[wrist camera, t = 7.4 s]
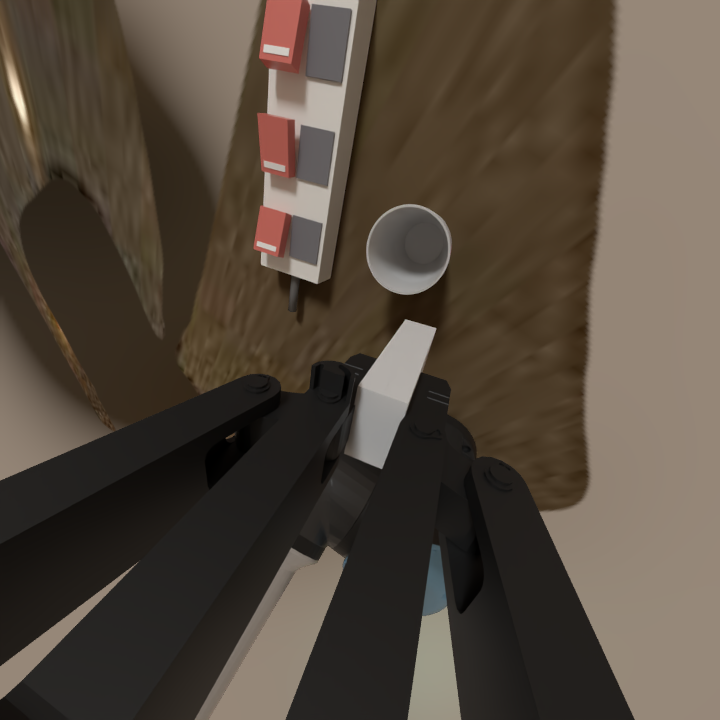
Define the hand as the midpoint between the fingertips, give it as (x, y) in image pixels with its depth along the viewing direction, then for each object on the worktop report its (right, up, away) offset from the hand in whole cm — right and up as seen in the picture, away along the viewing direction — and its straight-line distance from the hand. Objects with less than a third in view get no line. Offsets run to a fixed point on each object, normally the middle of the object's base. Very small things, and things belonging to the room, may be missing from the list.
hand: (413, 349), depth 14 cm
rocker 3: (-14, +16, +23) cm, 31 cm away
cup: (+5, +14, +22) cm, 27 cm away
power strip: (-9, +22, +24) cm, 34 cm away
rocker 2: (-12, +23, +18) cm, 32 cm away
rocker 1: (-10, +31, +14) cm, 35 cm away
